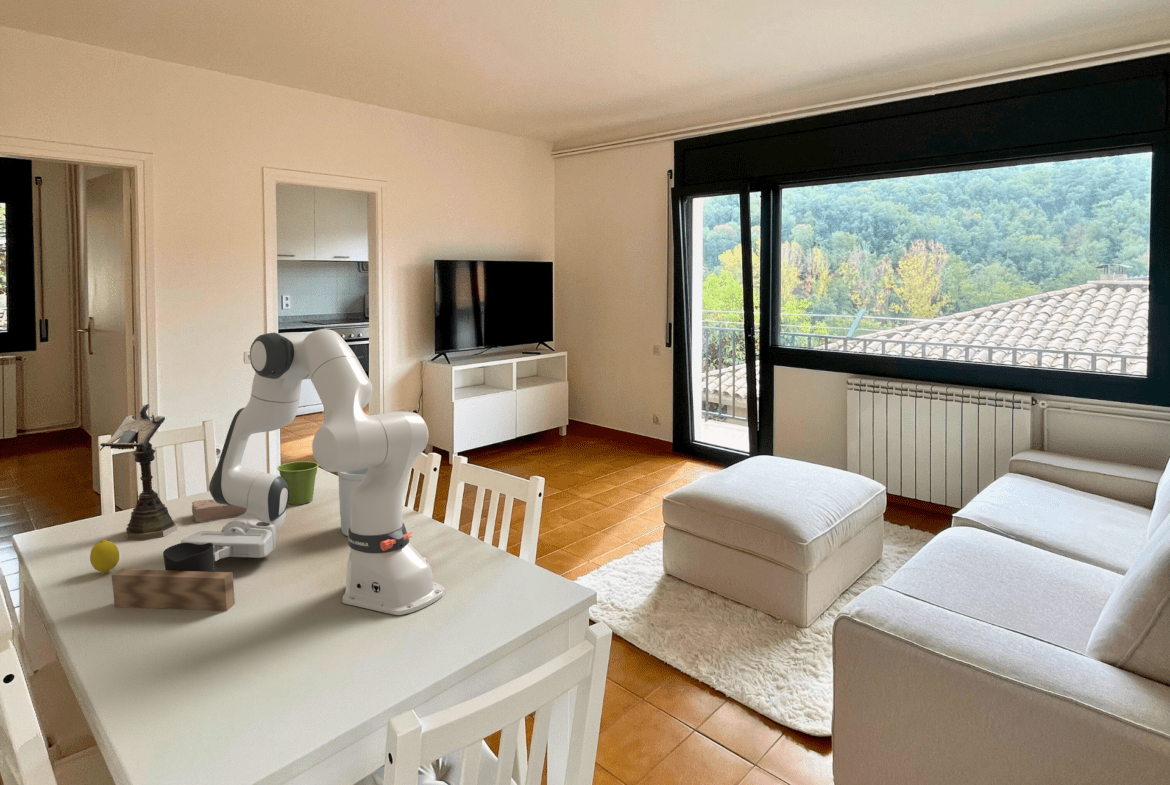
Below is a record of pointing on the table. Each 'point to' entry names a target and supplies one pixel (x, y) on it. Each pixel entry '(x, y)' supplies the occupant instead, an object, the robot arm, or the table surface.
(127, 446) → the ornate lectern
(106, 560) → the lemon
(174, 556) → the pen holder
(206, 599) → the walnut board
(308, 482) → the plant pot
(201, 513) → the brick
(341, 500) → the utensil holder
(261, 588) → the table surface
